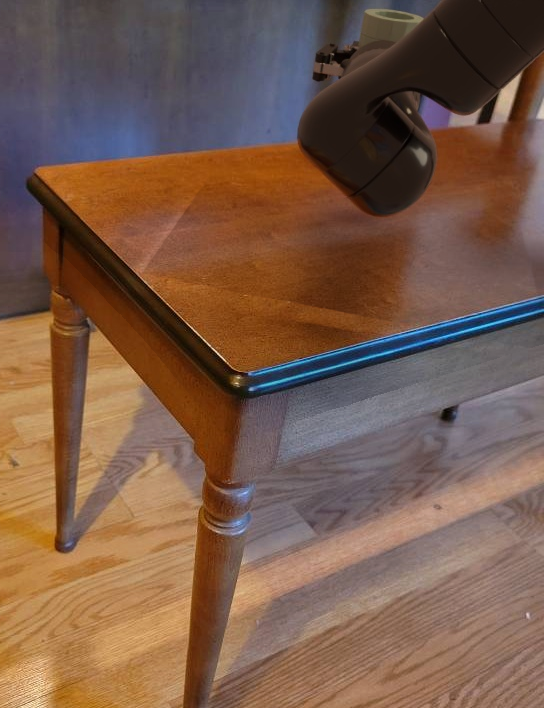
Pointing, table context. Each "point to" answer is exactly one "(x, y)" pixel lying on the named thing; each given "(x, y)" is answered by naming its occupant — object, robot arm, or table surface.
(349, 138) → the robot arm
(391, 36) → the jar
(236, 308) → the table surface
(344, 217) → the table surface
